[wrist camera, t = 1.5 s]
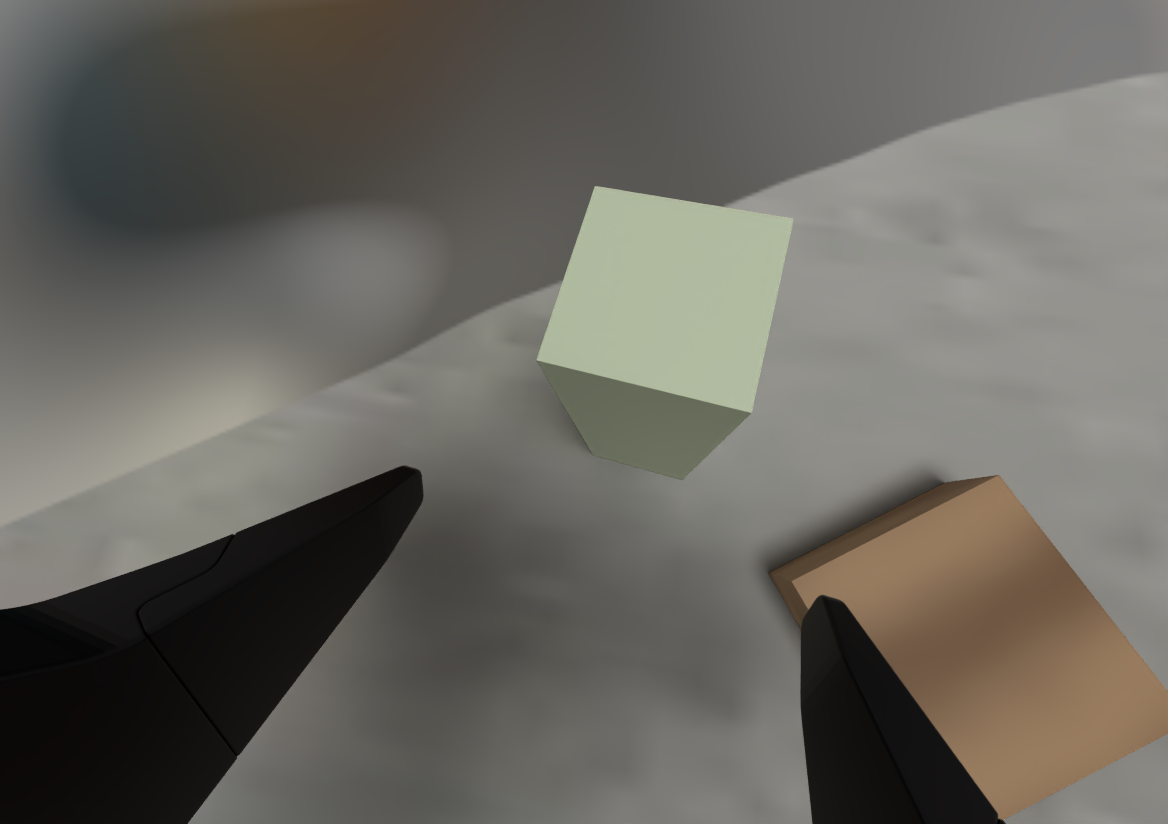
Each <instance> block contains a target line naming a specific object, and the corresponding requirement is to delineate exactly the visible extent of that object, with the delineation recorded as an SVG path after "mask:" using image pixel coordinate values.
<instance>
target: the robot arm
mask: <svg viewBox="0 0 1168 824" xmlns="http://www.w3.org/2000/svg"><path fill="white" fill-rule="evenodd" d="M422 501H423V484H422V475H421V472H420V471H419V470H418V469H415V468H412V467H409V466H400V467H397V468H395V469H393V470H390V471H388V472H385V473H383V474H380V475H378V476H375V477H373V478H370V479H368V480H365V481H363V482H360V483H358V484H355V485H353V486H350V487H348V488H345V489H343V490H341V491H338V492H336V493H333V494H331V495H328V496H326V497H323V498H321V499H318V500H316V501H313V502H311V503H308V504H306V505H303V506H301V507H298V508H296V509H293V510H291V511H289V512H286V513H284V514H281V515H279V516H276V517H274V518H271V519H269V520H266V521H264V522H261V523H259V524H256V525H254V526H251V527H249V528H246V529H244V530H241V531H239V532H237V533H236V534H235V535H234V534H231V535H229V536H226V537H224V538H221V539H219V540H216V541H214V542H211V543H209V544H206V545H204V546H201V547H199V548H196V549H193V550H191V551H188V552H186V553H183V554H180V555H178V556H175V557H172V558H169V559H166V560H164V561H161V562H158V563H155V564H152V565H150V566H147V567H144V568H141V569H138V570H135V571H132V572H129V573H126V574H123V575H120V576H117V577H115V578H112V579H109V580H106V581H103V582H100V583H97V584H94V585H91V586H88V587H85V588H82V589H79V590H76V591H73V592H70V593H68V594H65V595H62V596H59V597H55V598H52V599H49V600H46V601H42V602H38V603H34V604H30V605H26V606H21V607H15V608H9V609H1V610H0V824H188V822H189V821H190V820H191V818H192V817H193V816H194V814H195V813H196V812H197V811H198V809H199V808H200V807H201V805H202V804H203V803H204V801H205V800H206V799H207V797H208V796H209V795H210V793H211V792H212V791H213V789H214V788H215V787H216V786H217V784H218V783H219V782H220V780H221V779H222V778H223V776H224V775H225V774H226V772H227V771H228V770H229V768H230V767H231V766H232V764H233V763H234V762H235V760H236V759H237V756H238V755H240V753H241V752H242V751H243V749H244V748H245V747H246V745H247V744H248V743H249V742H250V740H251V739H252V738H253V736H254V735H255V734H256V732H257V731H258V730H259V728H260V727H261V726H262V724H263V723H264V722H265V720H266V719H267V718H268V716H269V715H270V714H271V713H272V711H273V710H274V709H275V707H276V706H277V705H278V703H279V702H280V701H281V699H282V698H283V697H284V695H285V694H286V693H287V691H288V690H289V689H290V687H291V686H292V685H293V684H294V682H295V681H296V680H297V678H298V677H299V676H300V674H301V673H302V672H303V670H304V669H305V668H306V666H307V665H308V664H309V662H310V661H311V660H312V658H313V657H314V656H315V654H316V653H317V652H318V651H319V649H320V648H321V647H322V645H323V644H324V643H325V641H326V640H327V639H328V637H329V636H330V635H331V633H332V632H333V631H334V629H335V628H336V627H337V625H338V624H339V623H340V622H341V620H342V619H343V618H344V616H345V615H346V614H347V612H348V611H349V610H350V608H351V607H352V606H353V604H354V603H355V602H356V600H357V599H358V598H359V596H360V595H361V594H362V593H363V591H364V590H365V589H366V587H367V586H368V585H369V583H370V582H371V581H372V579H373V578H374V577H375V575H376V574H377V573H378V571H379V570H380V569H381V567H382V566H383V565H384V563H385V562H386V561H387V559H388V558H389V556H390V555H391V553H392V551H393V550H394V548H395V547H396V545H397V543H398V542H399V540H400V538H401V537H402V535H403V533H404V532H405V530H406V528H407V527H408V525H409V524H410V522H411V520H412V519H413V517H414V515H415V514H416V512H417V510H418V509H419V507H420V505H421V503H422ZM800 694H801V716H802V727H803V736H804V746H805V756H806V765H807V775H808V785H809V794H810V804H811V813H812V823H813V824H1006V823H1005V822H1004V821H1003V820H1002V819H998V813H997V811H996V810H995V809H994V807H993V806H992V804H991V803H990V802H989V800H988V799H987V798H986V796H985V795H984V794H983V792H982V791H981V789H980V788H979V787H978V785H977V784H976V783H975V781H974V780H973V778H972V777H971V776H970V774H969V773H968V772H967V770H966V769H965V767H964V766H963V765H962V763H961V762H960V761H959V759H958V758H957V756H956V755H955V754H954V752H953V751H952V750H951V748H950V747H949V745H948V744H947V743H946V741H945V740H944V739H943V737H942V736H941V734H940V733H939V732H938V730H937V729H936V728H935V726H934V725H933V723H932V722H931V721H930V719H929V718H928V717H927V715H926V714H925V712H924V711H923V710H922V708H921V707H920V706H919V704H918V703H917V702H916V700H915V699H914V697H913V696H912V695H911V693H910V692H909V691H908V689H907V688H906V686H905V685H904V684H903V682H902V681H901V680H900V678H899V677H898V675H897V674H896V673H895V671H894V670H893V669H892V667H891V666H890V664H889V663H888V662H887V660H886V659H885V658H884V656H883V655H882V653H881V652H880V651H879V649H878V648H877V647H876V645H875V644H874V642H873V641H872V640H871V638H870V637H869V636H868V634H867V633H866V631H865V630H864V629H863V627H862V626H861V625H860V623H859V622H858V620H857V619H856V618H855V616H854V615H853V614H852V612H851V611H850V610H849V608H848V607H847V605H846V604H845V603H844V602H843V601H841V600H839V599H836V598H833V597H829V596H826V595H819V596H818V597H817V598H816V599H815V601H814V602H813V604H812V605H811V607H810V608H809V610H808V611H807V613H806V614H805V616H804V618H803V620H802V624H801V690H800Z"/></svg>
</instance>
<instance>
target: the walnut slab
mask: <svg viewBox="0 0 1168 824" xmlns="http://www.w3.org/2000/svg"><path fill="white" fill-rule="evenodd" d="M769 575H770V577H771V578H772V580H773V582H774V584H775V585H776V587H777V589H778V591H779V592H780V594H781V596H782V598H783V599H784V601H785V603H786V604H787V606H788V608H789V610H790V611H791V613H792V615H793V617H794V618H795V620H796V622H797V624H798V625H799V627H800V629H801V624H802V620H803V618H804V616H805V614H806V613H807V611H808V610H809V608H810V607H811V605H812V604H813V602H814V601H815V599H816V598H817V597H818V596H819V595H826V596H829V597H833V598H836V599H839V600H841V601H843V602H844V603H845V604H846V605H847V607H848V608H849V610H850V611H851V612H852V614H853V615H854V616H855V618H856V619H857V620H858V622H859V623H860V625H861V626H862V627H863V629H864V630H865V631H866V633H867V634H868V636H869V637H870V638H871V640H872V641H873V642H874V644H875V645H876V647H877V648H878V649H879V651H880V652H881V653H882V655H883V656H884V658H885V659H886V660H887V662H888V663H889V664H890V666H891V667H892V669H893V670H894V671H895V673H896V674H897V675H898V677H899V678H900V680H901V681H902V682H903V684H904V685H905V686H906V688H907V689H908V691H909V692H910V693H911V695H912V696H913V697H914V699H915V700H916V702H917V703H918V704H919V706H920V707H921V708H922V710H923V711H924V712H925V714H926V715H927V717H928V718H929V719H930V721H931V722H932V723H933V725H934V726H935V728H936V729H937V730H938V732H939V733H940V734H941V736H942V737H943V739H944V740H945V741H946V743H947V744H948V745H949V747H950V748H951V750H952V751H953V752H954V754H955V755H956V756H957V758H958V759H959V761H960V762H961V763H962V765H963V766H964V767H965V769H966V770H967V772H968V773H969V774H970V776H971V777H972V778H973V780H974V781H975V783H976V784H977V785H978V787H979V788H980V789H981V791H982V792H983V794H984V795H985V796H986V798H987V799H988V800H989V802H990V803H991V804H992V806H993V807H994V809H995V810H996V811H997V813H998V819H1002V820H1004V819H1006V818H1008V817H1010V816H1011V815H1013V814H1015V813H1017V812H1019V811H1021V810H1023V809H1025V808H1027V807H1029V806H1031V805H1032V804H1034V803H1036V802H1038V801H1040V800H1042V799H1044V798H1046V797H1048V796H1050V795H1052V794H1053V793H1055V792H1057V791H1059V790H1061V789H1063V788H1065V787H1067V786H1069V785H1071V784H1073V783H1074V782H1076V781H1078V780H1080V779H1082V778H1084V777H1086V776H1088V775H1090V774H1092V773H1094V772H1095V771H1097V770H1099V769H1101V768H1103V767H1105V766H1107V765H1109V764H1111V763H1113V762H1115V761H1116V760H1118V759H1120V758H1122V757H1124V756H1126V755H1128V754H1130V753H1132V752H1134V751H1136V750H1137V749H1139V748H1141V747H1143V746H1145V745H1147V744H1149V743H1151V742H1153V741H1155V740H1157V739H1158V738H1160V737H1162V736H1164V735H1166V734H1168V691H1167V690H1166V689H1165V687H1164V686H1163V685H1162V683H1161V682H1160V681H1159V680H1158V678H1157V677H1156V676H1155V675H1154V673H1153V672H1152V671H1151V669H1150V668H1149V667H1148V666H1147V664H1146V663H1145V662H1144V660H1143V659H1142V658H1141V657H1140V655H1139V654H1138V653H1137V651H1136V650H1135V649H1134V648H1133V646H1132V645H1131V644H1130V642H1129V641H1128V640H1127V639H1126V637H1125V636H1124V635H1123V633H1122V632H1121V631H1120V630H1119V628H1118V627H1117V626H1116V624H1115V623H1114V622H1113V621H1112V619H1111V618H1110V617H1109V615H1108V614H1107V613H1106V612H1105V610H1104V609H1103V608H1102V607H1101V605H1100V604H1099V603H1098V601H1097V600H1096V599H1095V598H1094V596H1093V595H1092V594H1091V592H1090V591H1089V590H1088V589H1087V587H1086V586H1085V585H1084V583H1083V582H1082V581H1081V580H1080V578H1079V577H1078V576H1077V574H1076V573H1075V572H1074V571H1073V569H1072V568H1071V567H1070V565H1069V564H1068V563H1067V562H1066V560H1065V559H1064V558H1063V556H1062V555H1061V554H1060V553H1059V551H1058V550H1057V549H1056V548H1055V546H1054V545H1053V544H1052V542H1051V541H1050V540H1049V539H1048V537H1047V536H1046V535H1045V533H1044V532H1043V531H1042V530H1041V528H1040V527H1039V526H1038V524H1037V523H1036V522H1035V521H1034V519H1033V518H1032V517H1031V515H1030V514H1029V513H1028V512H1027V510H1026V509H1025V508H1024V506H1023V505H1022V504H1021V503H1020V501H1019V500H1018V499H1017V497H1016V496H1015V495H1014V494H1013V492H1012V491H1011V490H1010V488H1009V487H1008V486H1007V485H1006V483H1005V482H1004V481H1003V480H1002V478H1001V477H1000V476H999V475H995V476H988V477H981V478H974V479H967V480H960V481H953V482H946V483H944V484H942V485H940V486H938V487H936V488H934V489H932V490H930V491H928V492H926V493H924V494H922V495H920V496H918V497H916V498H914V499H912V500H910V501H908V502H906V503H904V504H902V505H900V506H899V507H897V508H895V509H893V510H891V511H889V512H887V513H885V514H883V515H881V516H879V517H877V518H875V519H873V520H871V521H869V522H867V523H865V524H863V525H861V526H859V527H857V528H855V529H854V530H852V531H850V532H848V533H846V534H844V535H842V536H840V537H838V538H836V539H834V540H832V541H830V542H828V543H826V544H824V545H822V546H820V547H818V548H816V549H814V550H812V551H810V552H809V553H807V554H805V555H803V556H801V557H799V558H797V559H795V560H793V561H791V562H789V563H787V564H785V565H783V566H781V567H779V568H777V569H775V570H773V571H771V572H769Z"/></svg>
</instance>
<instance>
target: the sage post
mask: <svg viewBox="0 0 1168 824" xmlns="http://www.w3.org/2000/svg"><path fill="white" fill-rule="evenodd" d="M793 220H794V219H792V218H786V217H780V216H774V215H768V214H762V213H756V212H750V211H743V210H737V209H731V208H725V207H719V206H713V205H707V204H701V203H695V202H689V201H683V200H676V199H670V198H664V197H658V196H652V195H646V194H640V193H634V192H627V191H622V190H615V189H610V188H603V187H597V186H595V188H594V191H593V194H592V197H591V200H590V203H589V206H588V209H587V212H586V215H585V218H584V221H583V224H582V227H581V230H580V233H579V236H578V239H577V242H576V245H575V247H574V250H573V254H572V256H571V259H570V262H569V265H568V268H567V271H566V274H565V277H564V280H563V283H562V286H561V289H560V292H559V295H558V298H557V301H556V304H555V307H554V310H553V312H552V315H551V318H550V321H549V324H548V327H547V330H546V333H545V336H544V339H543V342H542V345H541V348H540V351H539V354H538V357H537V362H538V364H539V365H540V367H541V369H542V370H543V372H544V374H545V375H546V377H547V379H548V380H549V382H550V384H551V386H552V387H553V389H554V391H555V392H556V394H557V396H558V397H559V399H560V401H561V402H562V404H563V406H564V407H565V409H566V411H567V412H568V414H569V416H570V417H571V419H572V421H573V422H574V424H575V426H576V427H577V429H578V431H579V432H580V434H581V436H582V437H583V439H584V441H585V442H586V444H587V446H588V447H589V449H590V451H591V452H592V454H593V455H594V456H598V457H602V458H605V459H609V460H612V461H616V462H619V463H623V464H627V465H630V466H634V467H637V468H641V469H645V470H648V471H652V472H655V473H659V474H662V475H666V476H670V477H673V478H677V479H680V480H683V479H684V478H685V477H686V476H687V475H688V474H689V473H690V472H691V471H692V470H693V469H694V468H695V467H696V466H697V465H698V464H699V463H700V462H701V461H702V460H703V459H704V458H705V457H707V456H708V455H709V454H710V453H711V452H712V451H713V450H714V449H715V448H716V447H717V446H718V445H719V444H720V443H721V442H722V441H723V440H724V439H725V438H726V437H727V436H728V435H729V434H730V433H731V432H732V431H733V430H734V429H735V428H736V427H738V426H739V425H740V424H741V423H742V422H743V421H744V420H745V419H746V418H747V417H748V416H749V415H750V414H751V413H752V409H753V404H754V399H755V395H756V390H757V386H758V381H759V376H760V372H761V367H762V362H763V358H764V353H765V349H766V344H767V339H768V335H769V330H770V326H771V321H772V316H773V312H774V307H775V303H776V298H777V293H778V289H779V284H780V280H781V275H782V270H783V266H784V261H785V257H786V252H787V247H788V243H789V238H790V234H791V229H792V224H793Z"/></svg>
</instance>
